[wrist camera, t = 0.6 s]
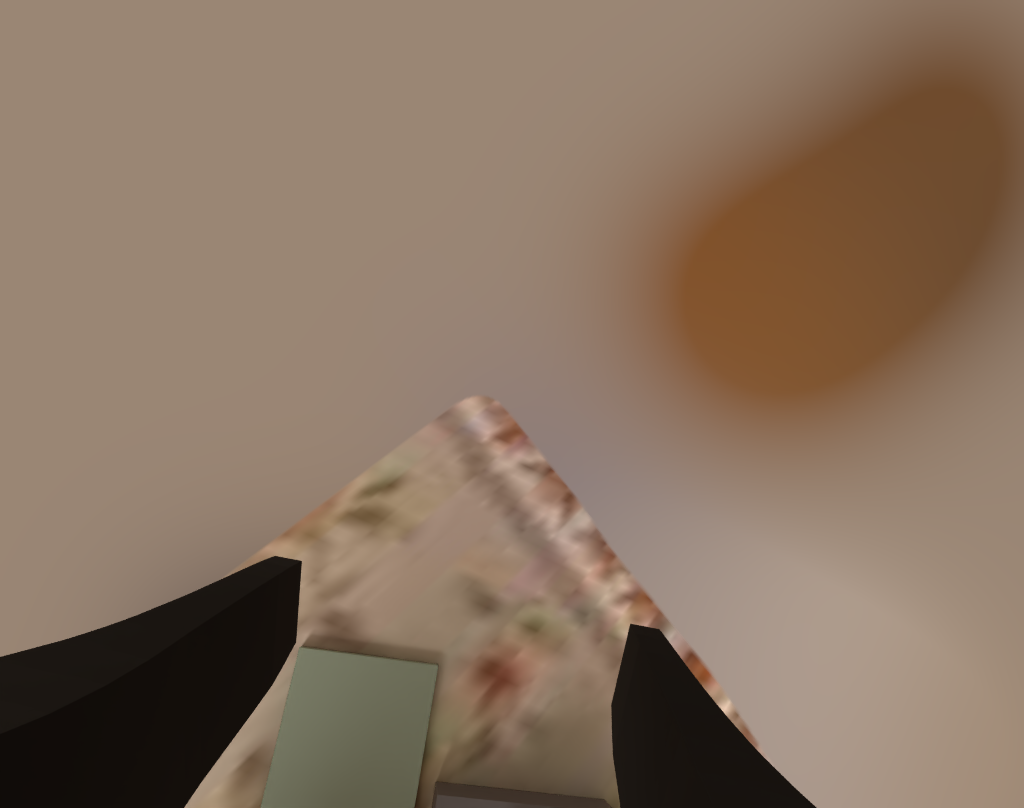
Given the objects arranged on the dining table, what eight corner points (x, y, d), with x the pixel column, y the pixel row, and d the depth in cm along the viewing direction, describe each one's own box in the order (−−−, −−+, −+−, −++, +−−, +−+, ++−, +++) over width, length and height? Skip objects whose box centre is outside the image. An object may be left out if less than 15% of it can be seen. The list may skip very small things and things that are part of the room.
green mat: (411, 821, 31) (411, 825, 30) (262, 806, 30) (259, 811, 29) (437, 664, 33) (438, 665, 33) (301, 646, 32) (299, 647, 32)
